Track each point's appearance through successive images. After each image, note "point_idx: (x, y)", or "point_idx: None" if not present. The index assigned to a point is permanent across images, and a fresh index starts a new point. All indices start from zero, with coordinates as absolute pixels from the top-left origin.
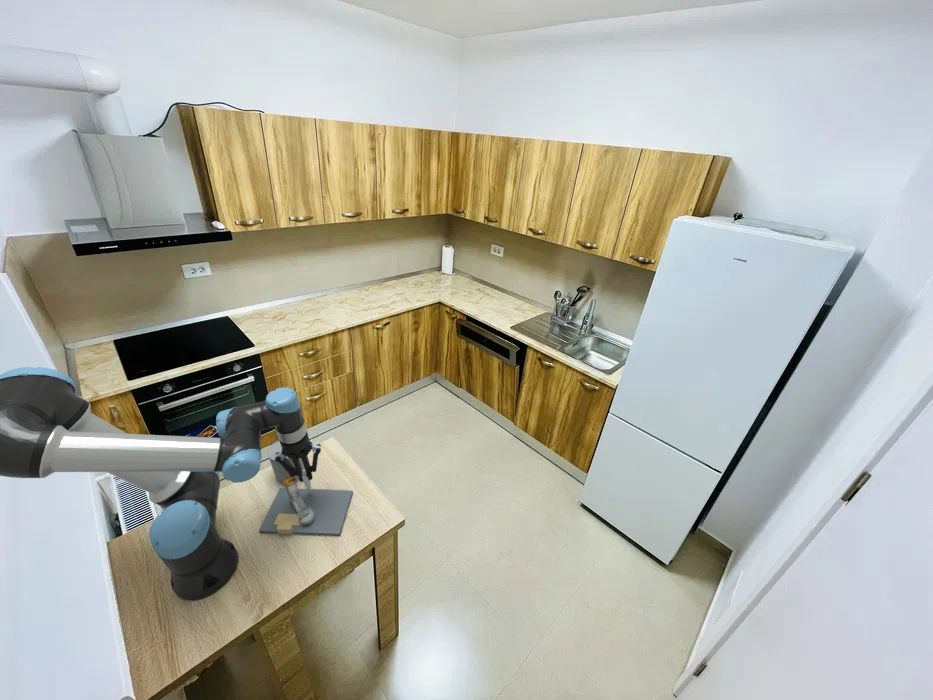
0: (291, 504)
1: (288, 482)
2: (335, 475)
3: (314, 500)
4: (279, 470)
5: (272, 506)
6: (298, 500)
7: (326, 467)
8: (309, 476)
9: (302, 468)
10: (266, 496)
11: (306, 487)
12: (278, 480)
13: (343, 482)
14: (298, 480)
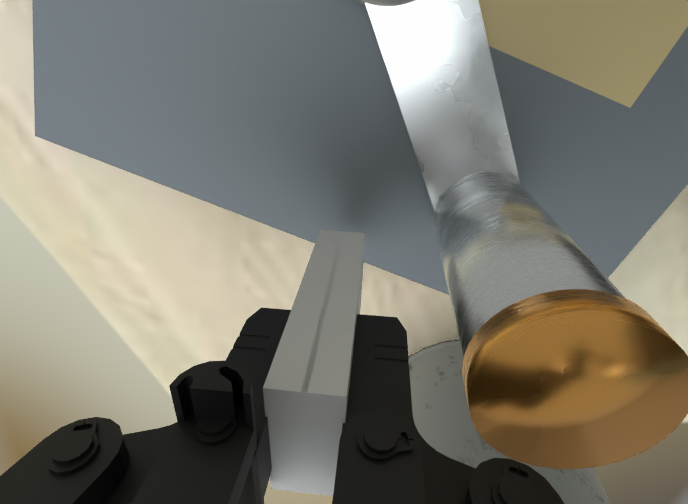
0: None
1: (602, 368)
2: (201, 306)
3: (324, 141)
4: (577, 491)
5: (656, 199)
6: (450, 154)
7: None
8: (260, 356)
9: None
10: (651, 304)
11: (353, 245)
12: None
13: (142, 239)
14: (428, 347)
